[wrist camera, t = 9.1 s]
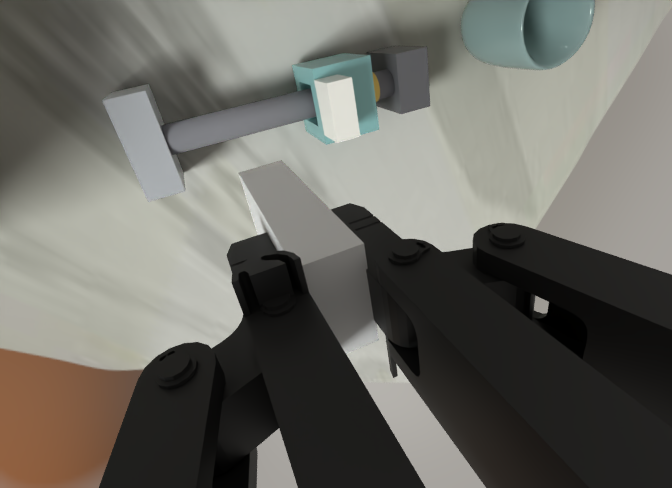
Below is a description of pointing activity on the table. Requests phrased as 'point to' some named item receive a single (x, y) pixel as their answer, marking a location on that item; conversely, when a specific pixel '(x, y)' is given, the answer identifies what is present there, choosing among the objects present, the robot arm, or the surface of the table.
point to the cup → (526, 31)
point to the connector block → (404, 77)
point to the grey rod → (253, 117)
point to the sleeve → (339, 96)
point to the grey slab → (145, 141)
